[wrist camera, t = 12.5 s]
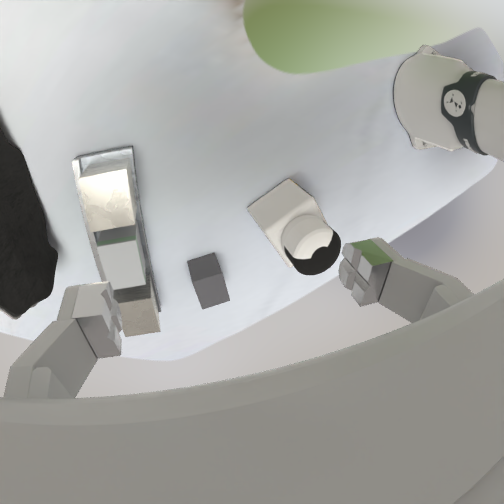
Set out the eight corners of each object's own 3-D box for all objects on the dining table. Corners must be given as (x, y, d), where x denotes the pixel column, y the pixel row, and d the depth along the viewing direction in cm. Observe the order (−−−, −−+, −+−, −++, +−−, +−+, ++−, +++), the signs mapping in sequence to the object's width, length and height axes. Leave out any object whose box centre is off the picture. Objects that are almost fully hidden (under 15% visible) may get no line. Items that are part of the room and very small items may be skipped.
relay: (214, 252, 42) (222, 272, 38) (221, 279, 45) (230, 300, 41) (187, 260, 41) (192, 282, 37) (196, 287, 44) (202, 309, 40)
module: (137, 220, 34) (135, 240, 30) (145, 261, 37) (145, 284, 33) (102, 226, 33) (96, 246, 29) (112, 266, 36) (109, 290, 32)
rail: (132, 146, 31) (128, 159, 25) (160, 305, 44) (164, 336, 38) (76, 156, 29) (61, 172, 24) (117, 311, 42) (116, 343, 36)
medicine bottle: (309, 213, 43) (355, 257, 34) (270, 242, 44) (306, 293, 34) (288, 176, 39) (336, 214, 29) (245, 207, 40) (279, 255, 30)
